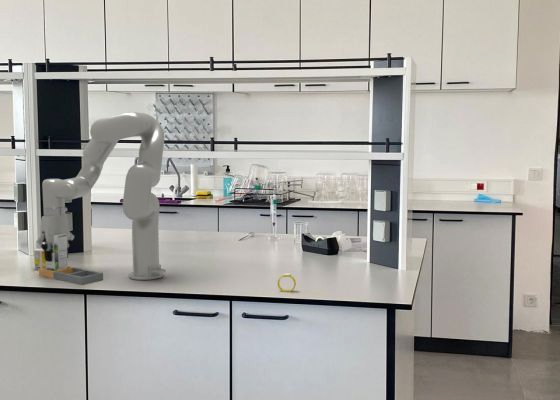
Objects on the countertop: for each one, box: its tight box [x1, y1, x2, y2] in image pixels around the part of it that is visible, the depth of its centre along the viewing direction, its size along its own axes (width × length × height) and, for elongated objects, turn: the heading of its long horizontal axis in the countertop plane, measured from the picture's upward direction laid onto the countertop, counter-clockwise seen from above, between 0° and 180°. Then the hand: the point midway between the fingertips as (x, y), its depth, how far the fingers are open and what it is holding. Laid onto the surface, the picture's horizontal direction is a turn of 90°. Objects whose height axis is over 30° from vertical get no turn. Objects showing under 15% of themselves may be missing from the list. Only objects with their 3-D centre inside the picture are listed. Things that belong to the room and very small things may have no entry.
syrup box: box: [46, 233, 69, 271], centre depth 232 cm, size 6×6×14 cm
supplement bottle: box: [33, 242, 46, 271], centre depth 243 cm, size 6×6×10 cm
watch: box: [277, 272, 297, 293], centre depth 207 cm, size 6×3×6 cm, turn 79°
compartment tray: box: [38, 265, 104, 285], centre depth 228 cm, size 26×9×2 cm, turn 54°
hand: (56, 259), depth 232 cm, fingers closed on syrup box, 6 cm apart
